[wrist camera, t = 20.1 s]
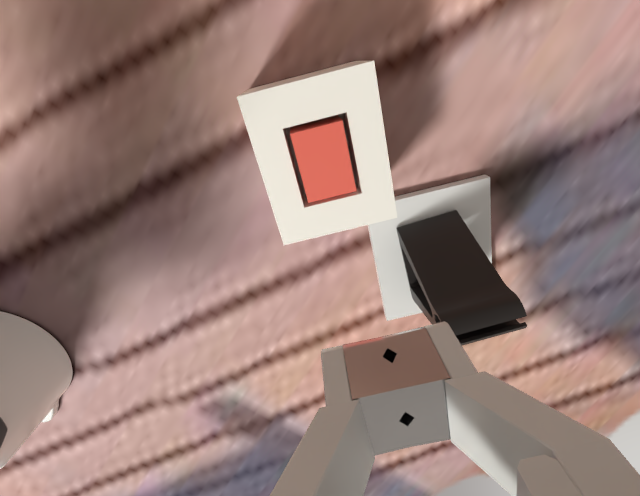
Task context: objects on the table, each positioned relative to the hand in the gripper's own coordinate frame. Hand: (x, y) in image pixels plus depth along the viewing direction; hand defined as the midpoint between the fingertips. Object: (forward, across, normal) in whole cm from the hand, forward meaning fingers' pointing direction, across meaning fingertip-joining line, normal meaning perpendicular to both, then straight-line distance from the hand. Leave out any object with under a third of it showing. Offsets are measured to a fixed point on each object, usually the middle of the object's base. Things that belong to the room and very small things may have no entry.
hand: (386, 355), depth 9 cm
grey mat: (+27, -9, +14) cm, 32 cm away
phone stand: (+26, -9, +14) cm, 31 cm away
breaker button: (+22, 0, 0) cm, 22 cm away
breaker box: (+27, 0, 0) cm, 27 cm away
